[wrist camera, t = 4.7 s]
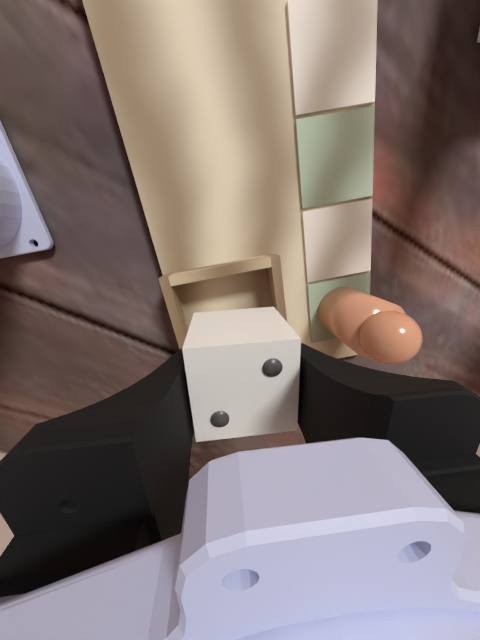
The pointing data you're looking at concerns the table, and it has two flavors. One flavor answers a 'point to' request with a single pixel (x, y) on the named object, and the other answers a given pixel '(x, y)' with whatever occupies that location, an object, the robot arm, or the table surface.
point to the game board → (248, 148)
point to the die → (242, 373)
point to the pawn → (370, 325)
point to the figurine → (479, 39)
